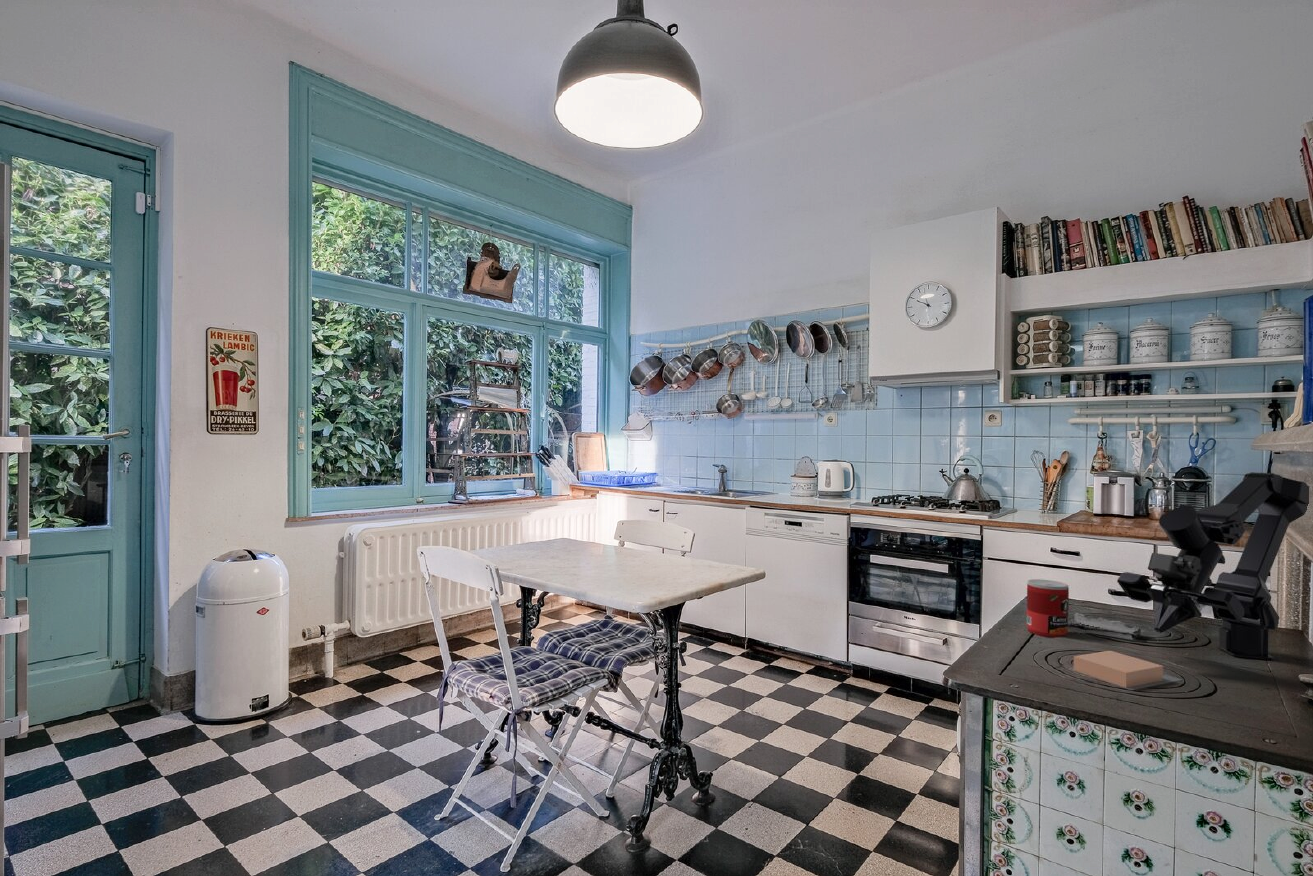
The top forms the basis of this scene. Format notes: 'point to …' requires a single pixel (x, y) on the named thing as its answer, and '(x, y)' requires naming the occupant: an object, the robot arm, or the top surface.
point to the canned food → (1047, 608)
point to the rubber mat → (1165, 680)
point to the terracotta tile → (1118, 668)
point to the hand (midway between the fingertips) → (1157, 631)
